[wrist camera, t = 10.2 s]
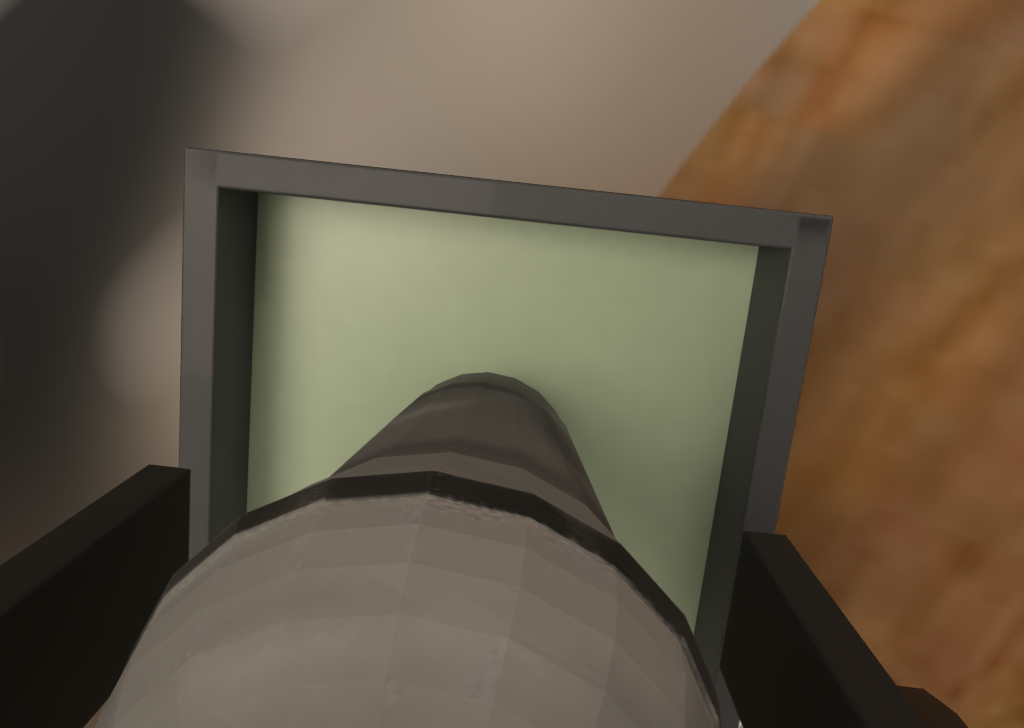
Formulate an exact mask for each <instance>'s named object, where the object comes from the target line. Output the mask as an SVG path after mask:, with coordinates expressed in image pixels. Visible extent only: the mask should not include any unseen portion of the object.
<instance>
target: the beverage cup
mask: <svg viewBox="0 0 1024 728" xmlns="http://www.w3.org/2000/svg"><path fill="white" fill-rule="evenodd" d="M94 728H721V719H720V697H719V695H718V693H717V690H716V688H715V686H714V683H713V681H712V678H711V676H710V674H709V671H708V669H707V666H706V664H705V662H704V659H703V657H702V654H701V652H700V650H699V647H698V645H697V642H696V640H695V638H694V635H693V633H692V631H691V628H690V626H689V623H688V621H687V619H686V616H685V614H684V613H683V612H682V611H681V610H680V609H679V608H678V607H677V606H676V604H675V603H674V602H673V601H672V600H671V599H670V598H669V597H668V596H667V594H666V593H665V592H664V591H663V590H662V589H661V588H660V587H659V586H658V584H657V583H656V582H655V581H654V580H653V579H652V578H651V577H650V575H649V574H648V573H647V572H646V571H645V570H644V569H643V568H642V567H641V565H640V564H639V563H638V562H637V561H636V560H635V559H634V558H633V557H632V555H631V554H630V553H629V552H628V551H627V550H626V549H625V548H624V547H623V545H622V544H620V543H619V542H618V540H617V539H616V538H615V536H614V534H613V532H612V529H611V527H610V525H609V523H608V520H607V518H606V516H605V514H604V511H603V509H602V507H601V505H600V502H599V500H598V498H597V496H596V493H595V491H594V489H593V487H592V484H591V482H590V480H589V478H588V475H587V473H586V471H585V469H584V466H583V464H582V462H581V460H580V457H579V455H578V453H577V450H576V448H575V446H574V444H573V441H572V439H571V437H570V435H569V432H568V430H567V428H566V426H565V424H564V423H563V422H562V421H561V420H560V419H559V417H558V414H557V412H556V411H555V410H554V409H553V408H552V406H551V405H550V404H549V403H548V402H547V401H546V400H545V399H544V397H543V396H542V395H541V394H540V393H539V392H538V391H536V390H534V389H533V388H531V387H529V386H528V385H526V384H524V383H523V382H521V381H519V380H518V379H516V378H512V377H508V376H504V375H499V374H495V373H491V372H483V373H471V374H461V375H458V376H456V377H453V378H451V379H449V380H446V381H444V382H441V383H439V384H437V385H435V386H434V387H433V388H432V389H431V390H429V391H426V392H424V393H423V394H421V395H420V396H419V397H418V398H417V399H416V400H414V401H413V402H412V403H411V404H410V405H409V406H407V407H406V408H405V409H404V410H403V411H402V412H401V413H399V414H398V415H397V416H396V417H395V418H394V419H393V420H392V421H391V422H389V423H388V424H387V425H386V426H385V427H384V428H383V429H382V430H381V431H379V432H378V433H377V434H376V435H375V436H374V437H373V438H372V439H371V440H369V441H368V442H367V443H366V444H365V445H364V446H363V447H362V448H361V449H360V450H358V451H357V452H356V453H355V454H354V455H353V456H352V457H351V458H350V459H348V460H347V461H346V462H345V463H344V464H343V465H342V466H341V467H340V468H338V469H337V470H336V471H335V472H334V473H333V474H332V475H331V476H330V477H328V478H326V479H323V480H321V481H318V482H316V483H313V484H311V485H309V486H307V487H305V488H303V489H301V490H299V491H297V492H295V493H293V494H292V495H289V496H287V497H284V498H282V499H280V500H277V501H275V502H272V503H270V504H267V505H265V506H262V507H260V508H257V509H255V510H252V511H250V512H248V513H245V514H243V515H241V516H240V517H239V518H238V519H236V520H235V521H234V522H233V523H232V524H231V525H229V526H228V527H227V528H226V529H225V530H224V531H223V532H221V533H220V534H219V535H218V536H217V537H216V538H215V539H213V540H212V541H211V542H210V543H209V544H208V545H207V546H205V547H204V548H203V549H202V550H201V551H200V552H199V553H197V554H196V555H195V556H194V557H193V558H192V559H191V560H189V561H188V562H187V563H186V564H185V565H184V566H182V567H181V568H180V569H179V570H178V571H177V572H176V573H174V574H173V575H172V577H171V579H170V581H169V583H168V584H167V586H166V588H165V590H164V592H163V594H162V595H161V597H160V599H159V601H158V603H157V604H156V606H155V608H154V610H153V612H152V614H151V615H150V617H149V619H148V621H147V623H146V625H145V626H144V628H143V630H142V632H141V634H140V636H139V637H138V639H137V641H136V643H135V645H134V647H133V648H132V650H131V652H130V655H129V657H128V659H127V662H126V664H125V667H124V669H123V671H122V675H121V677H120V679H119V680H118V682H117V684H116V686H115V688H114V690H113V691H112V693H111V695H110V697H109V699H108V701H107V702H106V704H105V706H104V708H103V710H102V712H101V714H100V716H99V718H98V720H97V723H96V725H95V727H94Z"/></svg>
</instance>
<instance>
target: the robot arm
mask: <svg viewBox="0 0 1024 728" xmlns="http://www.w3.org/2000/svg"><path fill="white" fill-rule="evenodd" d="M190 478H191V469H185V468H176V467H167V466H158V465H148V466H146V467H145V468H143V469H142V470H140V471H139V472H138V473H136V474H134V475H133V476H132V477H130V478H129V479H127V480H126V481H124V482H123V483H121V484H120V485H118V486H117V487H115V488H114V489H112V490H111V491H109V492H108V493H107V494H105V495H104V496H102V497H101V498H99V499H98V500H96V501H95V502H93V503H92V504H90V505H89V506H87V507H86V508H84V509H83V510H81V511H80V512H78V513H77V514H76V515H74V516H73V517H71V518H70V519H68V520H67V521H65V522H64V523H62V524H61V525H59V526H58V527H57V528H55V529H53V530H52V531H51V532H49V533H48V534H46V535H45V536H43V537H42V538H40V539H39V540H37V541H36V542H34V543H33V544H31V545H30V546H28V547H27V548H26V549H24V550H23V551H21V552H20V553H18V554H17V555H15V556H14V557H13V558H11V559H9V560H8V561H6V562H5V563H3V564H2V565H1V566H0V728H83V727H84V726H85V725H86V724H87V723H88V721H89V720H90V719H91V718H92V717H93V716H94V715H95V713H96V712H97V711H98V710H99V709H100V708H101V706H102V705H103V704H104V703H105V702H106V700H107V699H108V698H109V697H110V695H111V693H112V691H113V690H114V688H115V686H116V684H117V682H118V680H119V679H120V677H121V675H122V671H123V669H124V667H125V664H126V662H127V659H128V657H129V655H130V652H131V650H132V648H133V647H134V645H135V643H136V641H137V639H138V637H139V636H140V634H141V632H142V630H143V628H144V626H145V625H146V623H147V621H148V619H149V617H150V615H151V614H152V612H153V610H154V608H155V606H156V604H157V603H158V601H159V599H160V597H161V595H162V594H163V592H164V590H165V588H166V586H167V584H168V583H169V581H170V579H171V577H172V575H173V574H174V573H176V572H177V571H178V570H179V569H180V568H181V567H182V566H184V565H185V564H186V563H187V562H188V561H189V526H190ZM719 667H720V670H721V673H722V675H723V678H724V680H725V683H726V685H727V688H728V691H729V693H730V696H731V698H732V701H733V703H734V706H735V709H736V711H737V714H738V716H739V719H740V721H741V724H742V727H743V728H968V727H967V726H966V724H965V723H964V722H963V721H962V719H961V718H960V717H959V716H958V715H957V714H956V713H955V712H954V711H952V710H951V709H950V708H948V707H947V706H946V705H944V704H943V703H942V702H940V701H939V700H938V699H936V698H935V697H934V696H932V695H931V694H930V693H928V692H927V691H926V690H924V689H920V688H912V687H903V686H896V684H895V683H894V682H893V680H892V679H891V677H890V676H889V675H888V673H887V672H886V671H885V669H884V668H883V667H882V665H881V664H880V663H879V661H878V660H877V659H876V657H875V656H874V654H873V653H872V652H871V650H870V649H869V648H868V646H867V645H866V644H865V642H864V641H863V640H862V638H861V637H860V636H859V634H858V633H857V631H856V630H855V629H854V627H853V626H852V625H851V623H850V622H849V621H848V619H847V618H846V617H845V615H844V614H843V613H842V611H841V610H840V608H839V607H838V606H837V604H836V603H835V602H834V600H833V599H832V598H831V596H830V595H829V594H828V592H827V591H826V589H825V588H824V587H823V585H822V584H821V583H820V581H819V580H818V579H817V577H816V576H815V575H814V573H813V572H812V571H811V569H810V568H809V566H808V565H807V564H806V562H805V561H804V560H803V558H802V557H801V556H800V554H799V553H798V552H797V550H796V549H795V548H794V546H793V545H792V543H791V542H790V541H789V539H788V538H787V537H786V535H779V534H770V533H761V532H752V531H743V535H742V541H741V546H740V552H739V558H738V563H737V569H736V574H735V580H734V586H733V591H732V597H731V603H730V608H729V614H728V619H727V625H726V631H725V636H724V642H723V648H722V653H721V659H720V664H719Z"/></svg>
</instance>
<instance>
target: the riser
mask: <svg viewBox="0 0 1024 728" xmlns="http://www.w3.org/2000/svg"><path fill="white" fill-rule="evenodd" d="M183 206H184V207H183V260H182V263H183V264H182V265H183V266H182V318H181V376H180V433H179V438H180V439H179V468H185V469H191V478H190V526H189V560H191V559H192V558H193V557H194V556H195V555H196V554H197V553H199V552H200V551H201V550H202V549H203V548H204V547H205V546H207V545H208V544H209V543H210V542H211V541H212V540H213V539H215V538H216V537H217V536H218V535H219V534H220V533H221V532H223V531H224V530H225V529H226V528H227V527H228V526H229V525H231V524H232V523H233V522H234V521H235V520H236V519H238V518H239V517H240V516H241V515H243V514H245V513H248V512H250V511H252V510H255V509H257V508H260V507H262V506H265V505H267V504H270V503H272V502H275V501H277V500H280V499H282V498H284V497H287V496H289V495H292V494H293V493H295V492H297V491H299V490H301V489H303V488H305V487H307V486H309V485H311V484H313V483H316V482H318V481H321V480H323V479H326V478H328V477H330V476H331V475H332V474H333V473H334V472H335V471H336V470H337V469H338V468H340V467H341V466H342V465H343V464H344V463H345V462H346V461H347V460H348V459H350V458H351V457H352V456H353V455H354V454H355V453H356V452H357V451H358V450H360V449H361V448H362V447H363V446H364V445H365V444H366V443H367V442H368V441H369V440H371V439H372V438H373V437H374V436H375V435H376V434H377V433H378V432H379V431H381V430H382V429H383V428H384V427H385V426H386V425H387V424H388V423H389V422H391V421H392V420H393V419H394V418H395V417H396V416H397V415H398V414H399V413H401V412H402V411H403V410H404V409H405V408H406V407H407V406H409V405H410V404H411V403H412V402H413V401H414V400H416V399H417V398H418V397H419V396H420V395H421V394H423V393H424V392H426V391H429V390H431V389H432V388H433V387H434V386H435V385H437V384H439V383H441V382H444V381H446V380H449V379H451V378H453V377H456V376H458V375H461V374H471V373H483V372H491V373H495V374H499V375H504V376H508V377H512V378H516V379H518V380H519V381H521V382H523V383H524V384H526V385H528V386H529V387H531V388H533V389H534V390H536V391H538V392H539V393H540V394H541V395H542V396H543V397H544V399H545V400H546V401H547V402H548V403H549V404H550V405H551V406H552V408H553V409H554V410H555V411H556V412H557V414H558V417H559V419H560V420H561V421H562V422H563V423H564V424H565V426H566V428H567V430H568V432H569V435H570V437H571V439H572V441H573V444H574V446H575V448H576V450H577V453H578V455H579V457H580V460H581V462H582V464H583V466H584V469H585V471H586V473H587V475H588V478H589V480H590V482H591V484H592V487H593V489H594V491H595V493H596V496H597V498H598V500H599V502H600V505H601V507H602V509H603V511H604V514H605V516H606V518H607V520H608V523H609V525H610V527H611V529H612V532H613V534H614V536H615V538H616V539H617V540H618V542H619V543H620V544H622V545H623V547H624V548H625V549H626V550H627V551H628V552H629V553H630V554H631V555H632V557H633V558H634V559H635V560H636V561H637V562H638V563H639V564H640V565H641V567H642V568H643V569H644V570H645V571H646V572H647V573H648V574H649V575H650V577H651V578H652V579H653V580H654V581H655V582H656V583H657V584H658V586H659V587H660V588H661V589H662V590H663V591H664V592H665V593H666V594H667V596H668V597H669V598H670V599H671V600H672V601H673V602H674V603H675V604H676V606H677V607H678V608H679V609H680V610H681V611H682V612H683V613H684V614H685V616H686V619H687V621H688V623H689V626H690V628H691V631H692V633H693V635H694V638H695V640H696V642H697V645H698V647H699V650H700V652H701V654H702V657H703V659H704V662H705V664H706V666H707V669H708V671H709V674H710V676H711V678H712V681H713V683H714V686H715V688H716V690H717V693H718V695H719V697H720V719H721V728H738V727H739V721H740V719H739V716H738V714H737V711H736V709H735V706H734V703H733V701H732V698H731V696H730V693H729V691H728V688H727V685H726V683H725V680H724V678H723V675H722V673H721V670H720V667H719V664H720V659H721V653H722V648H723V642H724V636H725V631H726V625H727V619H728V614H729V608H730V603H731V597H732V591H733V586H734V580H735V574H736V569H737V563H738V558H739V552H740V546H741V541H742V535H743V531H752V532H761V533H770V534H775V528H776V523H777V518H778V512H779V507H780V502H781V496H782V491H783V486H784V480H785V475H786V469H787V464H788V459H789V453H790V448H791V443H792V437H793V432H794V427H795V421H796V416H797V411H798V405H799V400H800V394H801V389H802V384H803V378H804V373H805V368H806V362H807V357H808V352H809V346H810V341H811V336H812V330H813V325H814V319H815V314H816V309H817V303H818V298H819V293H820V287H821V282H822V277H823V271H824V266H825V261H826V255H827V250H828V245H829V239H830V234H831V228H832V223H833V217H832V216H828V215H819V214H810V213H800V212H791V211H782V210H772V209H763V208H754V207H744V206H735V205H725V204H716V203H707V202H697V201H688V200H679V199H669V198H660V197H651V196H641V195H631V194H622V193H613V192H604V191H594V190H585V189H575V188H566V187H556V186H547V185H538V184H529V183H520V182H510V181H501V180H491V179H482V178H473V177H463V176H454V175H445V174H435V173H426V172H417V171H407V170H398V169H388V168H379V167H369V166H360V165H351V164H341V163H332V162H323V161H314V160H304V159H295V158H286V157H276V156H266V155H258V154H248V153H238V152H229V151H220V150H211V149H201V148H192V147H186V148H185V150H184V203H183Z"/></svg>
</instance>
